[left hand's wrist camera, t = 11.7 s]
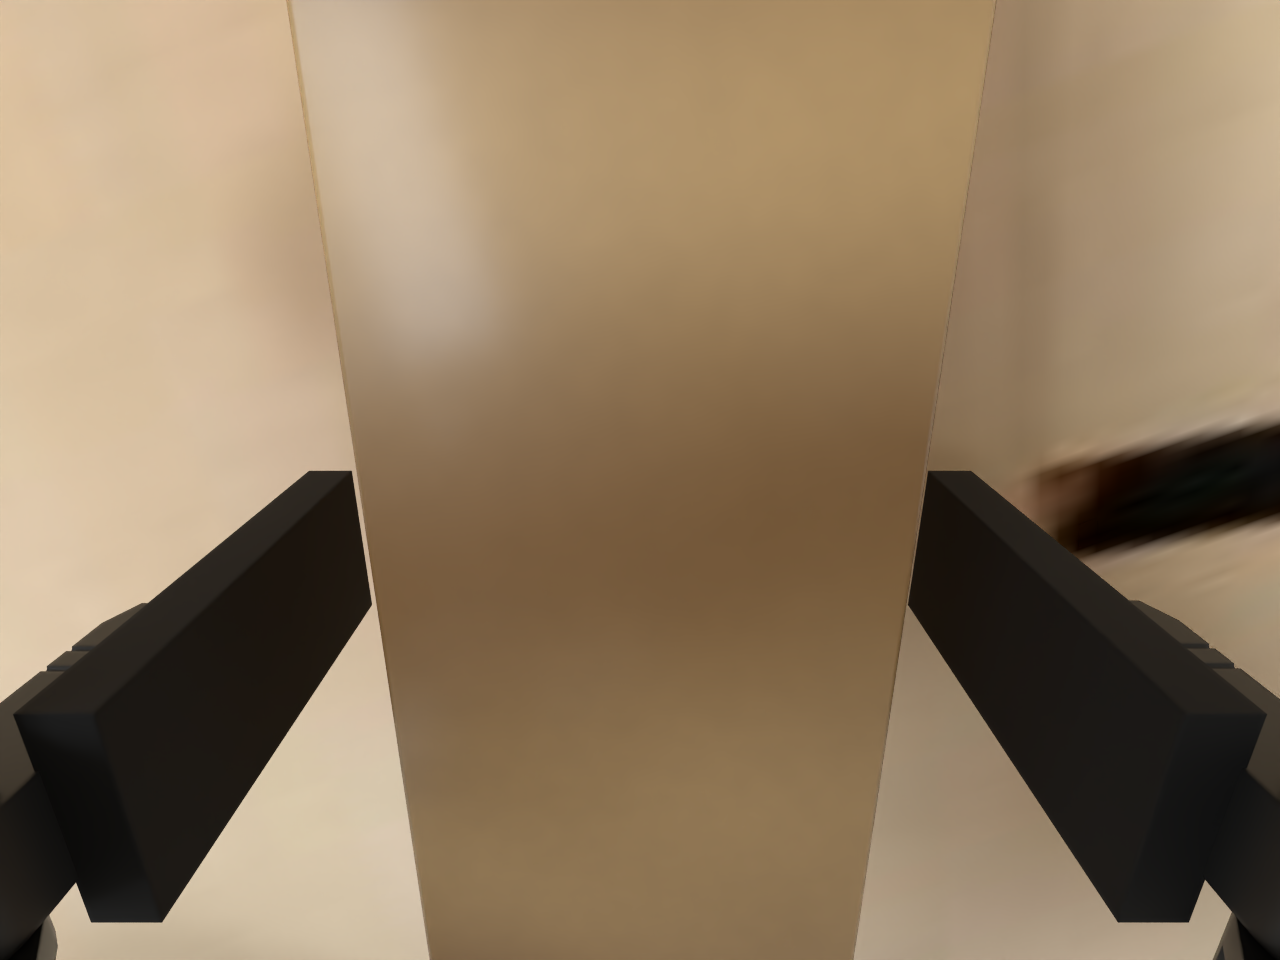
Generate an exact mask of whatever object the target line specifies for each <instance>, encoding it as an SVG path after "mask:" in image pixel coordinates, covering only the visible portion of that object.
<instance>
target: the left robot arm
mask: <svg viewBox="0 0 1280 960" xmlns="http://www.w3.org/2000/svg"><path fill="white" fill-rule="evenodd" d="M371 605H372V602H371V595H370V589H369V582H368V575H367V569H366V562H365V555H364V549H363V542H362V536H361V529H360V522H359V516H358V509H357V503H356V496H355V489H354V483H353V476H352V471H308V472H307V473H306V474H305V475H304V476H302V477H301V478H300V479H299V480H297V481H296V482H295V483H294V484H293V485H291V486H290V487H289V488H288V489H287V490H285V491H284V492H283V493H282V494H280V495H279V496H278V497H277V498H276V499H274V500H273V501H272V502H271V503H269V504H268V505H267V506H266V507H265V508H263V509H262V510H261V511H260V512H258V513H257V514H256V515H255V516H254V517H252V518H251V519H250V520H249V521H248V522H246V523H245V524H244V525H243V526H241V527H240V528H239V529H238V530H237V531H235V532H234V533H233V534H232V535H230V536H229V537H228V538H227V539H226V540H224V541H223V542H222V543H221V544H219V545H218V546H217V547H216V548H215V549H213V550H212V551H211V552H210V553H209V554H207V555H206V556H205V557H204V558H202V559H201V560H200V561H199V562H198V563H196V564H195V565H194V566H193V567H191V568H190V569H189V570H188V571H187V572H185V573H184V574H183V575H182V576H181V577H179V578H178V579H177V580H176V581H174V582H173V583H172V584H171V585H170V586H168V587H167V588H166V589H165V590H163V591H162V592H161V593H160V594H159V595H157V596H156V597H155V598H154V599H152V600H151V601H150V602H149V603H141V604H139V605H137V606H135V607H133V608H131V609H129V610H127V611H125V612H123V613H121V614H119V615H117V616H115V617H113V618H111V619H109V620H107V621H105V622H103V623H101V624H100V625H99V626H98V627H96V628H95V629H94V630H93V631H91V632H90V633H89V634H87V635H86V636H85V637H84V638H82V639H81V640H80V641H79V642H77V643H76V644H75V645H74V646H72V651H66V652H65V653H63V654H62V655H61V656H60V657H58V658H57V659H56V660H54V661H53V662H52V663H51V664H49V665H48V666H47V671H41V672H39V673H38V674H37V675H35V676H34V677H33V678H32V679H30V680H29V681H28V682H27V683H25V684H24V685H23V686H21V687H20V688H19V689H18V690H16V691H15V692H14V693H13V694H11V695H10V696H9V697H7V698H6V699H5V700H4V701H2V702H1V703H0V960H55V959H56V953H57V947H58V945H57V939H56V933H55V928H54V926H53V923H52V921H51V918H50V916H49V914H50V913H51V912H52V911H53V909H54V908H55V907H56V906H57V905H58V903H59V902H60V901H61V900H62V899H63V897H64V896H65V895H66V894H67V892H68V891H69V890H70V889H71V888H72V886H73V885H74V884H75V883H77V886H78V889H79V891H80V894H81V897H82V899H83V902H84V905H85V907H86V910H87V912H88V915H89V918H90V920H91V922H163V920H164V919H165V917H166V915H167V914H168V912H169V911H170V909H171V908H172V906H173V905H174V903H175V902H176V900H177V899H178V897H179V896H180V894H181V893H182V891H183V890H184V888H185V887H186V885H187V884H188V882H189V881H190V879H191V878H192V876H193V875H194V873H195V872H196V870H197V869H198V867H199V866H200V864H201V863H202V861H203V860H204V858H205V857H206V855H207V853H208V852H209V850H210V849H211V847H212V846H213V844H214V843H215V841H216V840H217V838H218V837H219V835H220V834H221V832H222V831H223V829H224V828H225V826H226V825H227V823H228V822H229V820H230V819H231V817H232V816H233V814H234V813H235V811H236V810H237V808H238V807H239V805H240V804H241V802H242V801H243V799H244V798H245V796H246V795H247V793H248V791H249V790H250V788H251V787H252V785H253V784H254V782H255V781H256V779H257V778H258V776H259V775H260V773H261V772H262V770H263V769H264V767H265V766H266V764H267V763H268V761H269V760H270V758H271V757H272V755H273V754H274V752H275V751H276V749H277V748H278V746H279V745H280V743H281V742H282V740H283V739H284V737H285V736H286V734H287V733H288V731H289V729H290V728H291V726H292V725H293V723H294V722H295V720H296V719H297V717H298V716H299V714H300V713H301V711H302V710H303V708H304V707H305V705H306V704H307V702H308V701H309V699H310V698H311V696H312V695H313V693H314V692H315V690H316V689H317V687H318V686H319V684H320V683H321V681H322V680H323V678H324V677H325V675H326V674H327V672H328V670H329V669H330V667H331V666H332V664H333V663H334V661H335V660H336V658H337V657H338V655H339V654H340V652H341V651H342V649H343V648H344V646H345V645H346V643H347V642H348V640H349V639H350V637H351V636H352V634H353V633H354V631H355V630H356V628H357V627H358V625H359V624H360V622H361V621H362V619H363V618H364V616H365V615H366V613H367V612H368V610H369V608H370V607H371ZM908 605H909V607H910V608H911V610H912V611H913V613H914V615H915V616H916V618H917V619H918V621H919V622H920V624H921V625H922V627H923V628H924V630H925V631H926V633H927V634H928V636H929V637H930V639H931V640H932V642H933V643H934V645H935V646H936V648H937V649H938V651H939V652H940V654H941V655H942V657H943V658H944V660H945V661H946V663H947V664H948V666H949V667H950V669H951V670H952V672H953V673H954V675H955V677H956V678H957V680H958V681H959V683H960V684H961V686H962V687H963V689H964V690H965V692H966V693H967V695H968V696H969V698H970V699H971V701H972V702H973V704H974V705H975V707H976V708H977V710H978V711H979V713H980V714H981V716H982V717H983V719H984V720H985V722H986V723H987V725H988V726H989V728H990V729H991V731H992V732H993V734H994V736H995V737H996V739H997V740H998V742H999V743H1000V745H1001V746H1002V748H1003V749H1004V751H1005V752H1006V754H1007V755H1008V757H1009V758H1010V760H1011V761H1012V763H1013V764H1014V766H1015V767H1016V769H1017V770H1018V772H1019V773H1020V775H1021V776H1022V778H1023V779H1024V781H1025V782H1026V784H1027V785H1028V787H1029V788H1030V790H1031V791H1032V793H1033V794H1034V796H1035V798H1036V799H1037V801H1038V802H1039V804H1040V805H1041V807H1042V808H1043V810H1044V811H1045V813H1046V814H1047V816H1048V817H1049V819H1050V820H1051V822H1052V823H1053V825H1054V826H1055V828H1056V829H1057V831H1058V832H1059V834H1060V835H1061V837H1062V838H1063V840H1064V841H1065V843H1066V844H1067V846H1068V847H1069V849H1070V850H1071V852H1072V853H1073V855H1074V856H1075V858H1076V860H1077V861H1078V863H1079V864H1080V866H1081V867H1082V869H1083V870H1084V872H1085V873H1086V875H1087V876H1088V878H1089V879H1090V881H1091V882H1092V884H1093V885H1094V887H1095V888H1096V890H1097V891H1098V893H1099V894H1100V896H1101V897H1102V899H1103V900H1104V902H1105V903H1106V905H1107V906H1108V908H1109V909H1110V911H1111V912H1112V914H1113V915H1114V917H1115V919H1116V920H1117V922H1189V920H1190V918H1191V915H1192V913H1193V910H1194V907H1195V905H1196V902H1197V899H1198V897H1199V894H1200V891H1201V889H1202V886H1203V883H1204V881H1205V880H1206V881H1207V882H1208V883H1209V885H1210V886H1211V887H1212V888H1213V889H1214V891H1215V892H1216V893H1217V894H1218V895H1219V897H1220V898H1221V899H1222V900H1223V901H1224V903H1225V904H1226V905H1227V906H1228V907H1229V909H1230V910H1231V911H1232V914H1231V916H1230V918H1229V921H1228V923H1227V926H1226V928H1225V931H1224V933H1223V936H1222V938H1221V941H1220V943H1219V946H1218V948H1217V951H1216V953H1215V956H1214V958H1213V960H1280V699H1279V698H1277V697H1276V696H1275V695H1274V694H1272V693H1271V692H1270V691H1269V690H1267V689H1266V688H1265V687H1263V686H1262V685H1261V684H1260V683H1258V682H1257V681H1256V680H1254V679H1253V678H1252V677H1251V676H1249V675H1248V674H1247V673H1245V672H1244V671H1243V670H1242V669H1235V668H1234V663H1233V662H1231V661H1230V660H1229V659H1228V658H1226V657H1225V656H1224V655H1222V654H1221V653H1220V652H1219V651H1217V650H1216V649H1210V648H1209V644H1208V643H1207V642H1206V641H1205V640H1203V639H1202V638H1201V637H1199V636H1198V635H1197V634H1196V633H1194V632H1193V631H1192V630H1190V629H1189V628H1188V627H1187V626H1185V625H1184V624H1183V623H1182V622H1180V621H1179V620H1177V619H1175V618H1173V617H1171V616H1169V615H1167V614H1165V613H1163V612H1161V611H1159V610H1157V609H1155V608H1153V607H1151V606H1149V605H1147V604H1145V603H1143V602H1141V601H1129V600H1128V599H1126V598H1125V597H1124V596H1123V595H1121V594H1120V593H1119V592H1118V591H1117V590H1115V589H1114V588H1113V587H1112V586H1110V585H1109V584H1108V583H1107V582H1106V581H1104V580H1103V579H1102V578H1101V577H1100V576H1098V575H1097V574H1096V573H1095V572H1093V571H1092V570H1091V569H1090V568H1089V567H1087V566H1086V565H1085V564H1084V563H1082V562H1081V561H1080V560H1079V559H1078V558H1076V557H1075V556H1074V555H1073V554H1071V553H1070V552H1069V551H1068V550H1067V549H1065V548H1064V547H1063V546H1062V545H1061V544H1059V543H1058V542H1057V541H1056V540H1054V539H1053V538H1052V537H1051V536H1050V535H1048V534H1047V533H1046V532H1045V531H1043V530H1042V529H1041V528H1040V527H1039V526H1037V525H1036V524H1035V523H1034V522H1032V521H1031V520H1030V519H1029V518H1028V517H1026V516H1025V515H1024V514H1023V513H1022V512H1020V511H1019V510H1018V509H1017V508H1015V507H1014V506H1013V505H1012V504H1011V503H1009V502H1008V501H1007V500H1006V499H1004V498H1003V497H1002V496H1001V495H1000V494H998V493H997V492H996V491H995V490H994V489H992V488H991V487H990V486H989V485H987V484H986V483H985V482H984V481H983V480H981V479H980V478H979V477H978V476H976V475H975V474H974V473H973V472H972V471H928V476H927V483H926V489H925V496H924V503H923V509H922V516H921V522H920V529H919V536H918V542H917V549H916V556H915V562H914V569H913V575H912V582H911V589H910V595H909V602H908Z"/></svg>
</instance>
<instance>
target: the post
mask: <svg viewBox="0 0 1280 960" xmlns="http://www.w3.org/2000/svg"><path fill="white" fill-rule="evenodd" d="M286 1H287V7H288V14H289V21H290V28H291V34H292V41H293V48H294V54H295V61H296V68H297V74H298V81H299V88H300V94H301V101H302V108H303V114H304V121H305V128H306V135H307V141H308V148H309V155H310V161H311V168H312V175H313V181H314V188H315V195H316V201H317V208H318V215H319V222H320V228H321V235H322V242H323V248H324V255H325V262H326V268H327V275H328V282H329V288H330V295H331V302H332V309H333V315H334V322H335V329H336V335H337V342H338V349H339V355H340V362H341V369H342V375H343V382H344V389H345V395H346V402H347V409H348V416H349V422H350V429H351V436H352V442H353V449H354V456H355V462H356V469H357V476H358V482H359V489H360V496H361V503H362V509H363V516H364V523H365V529H366V536H367V543H368V549H369V556H370V563H371V569H372V576H373V583H374V590H375V596H376V603H377V610H378V616H379V623H380V630H381V636H382V643H383V650H384V656H385V663H386V670H387V676H388V683H389V690H390V697H391V703H392V710H393V717H394V723H395V730H396V737H397V743H398V750H399V757H400V763H401V770H402V777H403V784H404V790H405V797H406V804H407V810H408V817H409V824H410V830H411V837H412V844H413V850H414V857H415V864H416V871H417V877H418V884H419V891H420V897H421V904H422V911H423V917H424V924H425V931H426V937H427V944H428V951H429V957H430V960H853V958H854V952H855V945H856V938H857V932H858V925H859V918H860V912H861V905H862V898H863V891H864V885H865V878H866V871H867V865H868V858H869V851H870V844H871V838H872V831H873V824H874V818H875V811H876V804H877V798H878V791H879V784H880V777H881V771H882V764H883V757H884V751H885V744H886V737H887V731H888V724H889V717H890V710H891V704H892V697H893V690H894V684H895V677H896V670H897V663H898V657H899V650H900V643H901V637H902V630H903V623H904V617H905V610H906V603H907V596H908V590H909V583H910V576H911V570H912V563H913V556H914V550H915V543H916V536H917V529H918V523H919V516H920V509H921V503H922V496H923V489H924V483H925V476H926V469H927V462H928V456H929V449H930V442H931V436H932V429H933V422H934V415H935V409H936V402H937V395H938V389H939V382H940V375H941V369H942V362H943V355H944V348H945V342H946V335H947V328H948V322H949V315H950V308H951V302H952V295H953V288H954V281H955V275H956V268H957V261H958V255H959V248H960V241H961V234H962V228H963V221H964V214H965V208H966V201H967V194H968V188H969V181H970V174H971V167H972V161H973V154H974V147H975V141H976V134H977V127H978V121H979V114H980V107H981V100H982V94H983V87H984V80H985V74H986V67H987V60H988V53H989V47H990V40H991V33H992V27H993V20H994V13H995V7H996V0H286Z"/></svg>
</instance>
